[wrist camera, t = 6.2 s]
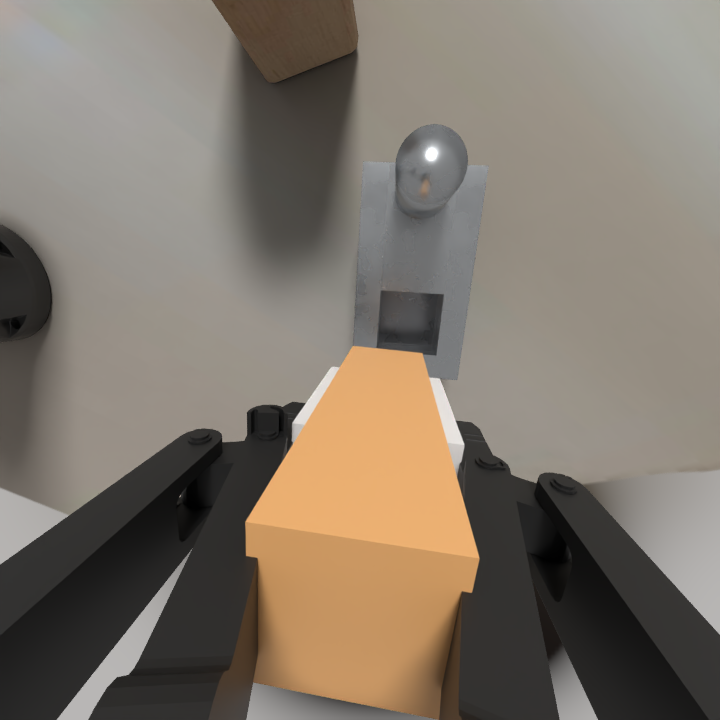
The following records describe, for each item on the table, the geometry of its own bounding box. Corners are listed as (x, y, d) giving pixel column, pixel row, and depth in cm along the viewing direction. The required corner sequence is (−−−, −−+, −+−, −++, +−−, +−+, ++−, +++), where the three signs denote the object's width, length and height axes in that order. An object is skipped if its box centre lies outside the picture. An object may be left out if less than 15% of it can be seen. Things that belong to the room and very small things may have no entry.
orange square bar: (348, 409, 20) (248, 681, 7) (352, 346, 19) (244, 522, 6) (413, 417, 20) (443, 721, 6) (422, 353, 19) (479, 558, 5)
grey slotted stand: (361, 349, 41) (340, 398, 25) (371, 185, 36) (352, 122, 20) (443, 355, 40) (474, 410, 24) (465, 189, 35) (521, 126, 19)
